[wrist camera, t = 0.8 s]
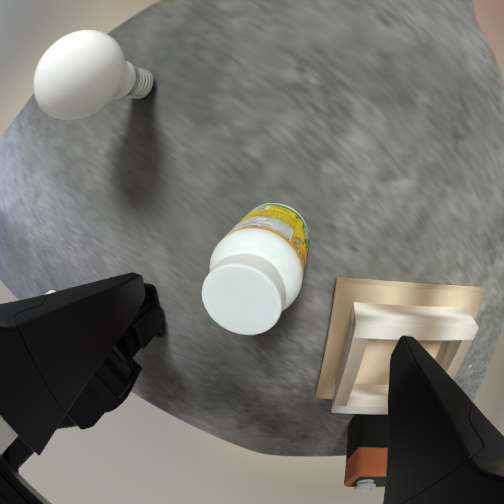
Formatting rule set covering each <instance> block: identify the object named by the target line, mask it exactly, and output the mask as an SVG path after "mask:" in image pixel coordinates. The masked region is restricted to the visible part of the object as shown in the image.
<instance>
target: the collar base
mask: <svg viewBox="0 0 504 504" xmlns="http://www.w3.org/2000/svg"><path fill="white" fill-rule="evenodd" d="M484 293H485V292H484V291H483V289H482V288H481V287H474V286H457V285H441V284H425V283H411V282H397V281H383V280H370V279H358V278H345V277H336V283H335V291H334V298H333V305H332V311H331V317H330V324H329V329H328V335H327V341H326V346H325V352H324V357H323V362H322V367H321V372H320V376H319V381H318V386H317V390H316V397H315V398H323V399H332V410H331V413H348V414H388V388H389V373H390V358H391V354H392V352H393V350H394V348H395V346H396V344H397V342H398V340H399V338H400V337H401V336H403V335H406V336H412V337H414V338H415V339H416V340H417V341H418V342H419V343H420V344H421V345H422V346H423V348H424V349H425V350H426V351H427V352H428V353H429V354H430V355H431V356H432V357H433V358H434V359H435V360H436V361H437V362H438V364H439V365H440V366H441V367H442V368H443V369H444V370H445V371H446V372H447V373H448V375H449V376H450V377H451V378H452V379H453V378H454V376H455V374H456V372H457V371H458V369H459V367H460V365H461V363H462V361H463V359H464V357H465V356H466V354H467V352H468V350H469V347H470V345H471V343H472V341H473V339H474V337H475V335H476V332H477V330H478V326H477V324H476V323H475V321H474V320H475V317H476V315H477V312H478V310H479V307H480V304H481V302H482V299H483V296H484Z"/></svg>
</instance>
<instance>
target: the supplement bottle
mask: <svg viewBox="0 0 504 504" xmlns="http://www.w3.org/2000/svg"><path fill="white" fill-rule="evenodd" d="M308 249H309V232H308V229H307V226H306V223H305V221H304V219H303V218H302V216H301V215H300V214H299V213H298V212H297V211H295V210H294V209H293V208H291V207H289V206H286V205H283V204H279V203H268V204H263V205H260V206H258V207H256V208H254V209H253V210H252V211H250V212H249V213H248V214H247V215H246V216H245V217H244V218H243V219H242V220H241V221H240V222H239V223H238V224H237V225H236V226H235V227H234V228H233V229H232V230H231V231H230V232H229V233H228V234H227V235H226V236H225V237H224V238H223V239H222V240H221V241H220V242H219V243H218V245H217V246H216V248H215V250H214V251H213V254H212V256H211V260H210V273H209V274H208V276H207V277H206V279H205V281H204V283H203V287H202V299H203V303H204V306H205V308H206V310H207V312H208V313H209V315H210V316H211V317H212V319H213V320H215V322H217V323H218V324H219V325H220V326H222V327H223V328H225V329H227V330H229V331H231V332H234V333H238V334H243V335H256V334H260V333H263V332H265V331H267V330H269V329H270V328H271V327H273V326H274V325H275V324H276V322H277V321H278V319H279V317H280V315H281V312H282V311H283V310H284V309H286V308H287V307H289V306H290V305H291V304H292V303H293V301H294V300H295V299H296V297H297V295H298V294H299V291H300V289H301V285H302V281H303V276H304V270H305V265H306V259H307V254H308Z"/></svg>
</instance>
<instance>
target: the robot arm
mask: <svg viewBox="0 0 504 504" xmlns="http://www.w3.org/2000/svg"><path fill="white" fill-rule="evenodd" d="M150 289H151V290H150ZM164 335H165V331H164V327H163V322H162V317H161V313H160V308H159V304H158V299H157V294H156V289H155V287H154V286H153V285H151V284H146V283H144V281H143V277H142V276H141V275H140V274H136V273H128V274H124V275H120V276H116V277H110V278H108V279H104V280H100V281H96V282H92V283H88V284H84V285H80V286H76V287H72V288H68V289H65V290H61V291H57V292H53V293H50V294H45V295H41V296H37V297H33V298H29V299H24V300H19V301H14V302H9V303H4V304H0V504H51V503H50V502H49V501H47V500H46V499H45V498H44V497H43V496H42V495H41V494H39V493H38V492H37V491H36V490H35V489H34V488H33V487H32V486H30V484H29V483H28V482H27V481H25V479H24V478H23V477H22V476H21V475H20V474H19V473H18V468H19V467H20V466H21V465H22V464H23V463H24V462H25V461H26V460H27V459H28V458H29V457H30V456H31V455H32V454H33V453H34V452H36V453H37V454H38V455H40V454H41V453H42V451H43V449H44V448H45V446H46V445H47V443H48V442H49V440H50V438H51V437H52V435H53V434H54V432H55V431H56V430H57V429H60V428H68V427H74V426H78V427H79V428H80V429H86V428H90V427H92V426H94V425H95V424H96V422H97V421H98V420H99V419H100V418H101V416H102V415H103V414H104V413H105V412H110V411H112V410H114V409H116V408H117V407H118V406H119V405H120V404H122V403H123V402H124V400H125V399H126V398H127V397H128V395H129V393H130V391H131V389H132V387H133V385H134V383H135V381H136V379H137V377H138V375H139V373H140V371H141V369H142V367H141V366H140V365H139V364H137V363H136V362H135V361H134V359H133V357H134V356H135V354H136V353H137V352H138V351H139V350H140V349H141V348H142V349H144V348H145V347H146V346H147V344H148V343H149V342H150V341H151V340H152V338H153V337H154V336H156V337H160V338H162V337H163V336H164ZM383 504H504V436H503V435H502V434H501V433H500V432H499V431H498V430H497V429H496V428H495V427H494V426H493V425H492V424H491V422H490V421H489V420H488V419H487V418H486V417H485V416H484V415H483V414H482V413H481V411H480V410H479V409H478V408H477V407H476V405H475V404H474V403H473V402H471V400H470V398H469V397H468V396H467V395H466V394H465V393H464V391H463V390H462V389H461V388H460V387H459V386H458V385H457V384H456V382H455V381H454V380H453V379H452V378H451V377H450V376H449V375H448V373H447V372H446V371H445V370H444V369H443V368H442V367H441V366H440V365H439V364H438V362H437V361H436V360H435V359H434V358H433V357H432V356H431V355H430V354H429V353H428V352H427V351H426V350H425V349H424V348H423V346H422V345H421V344H420V343H419V342H418V341H417V340H416V339H415V338H414V337H412V336H406V335H403V336H401V337H400V338H399V340H398V342H397V344H396V346H395V348H394V350H393V352H392V354H391V358H390V373H389V388H388V450H387V469H386V482H385V493H384V502H383Z"/></svg>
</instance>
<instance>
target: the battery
mask: <svg viewBox="0 0 504 504" xmlns="http://www.w3.org/2000/svg"><path fill="white" fill-rule="evenodd" d="M387 450H388V414H356V415H355V417H354V418H353V420H352V421H351V423H350V425H349V426H348V442H347V457H346V458H347V459H346V471H345V480H344V485H345V486H347V487H355V490H357V491H368V490H372V489H373V488H375V487H385V482H386V469H387Z"/></svg>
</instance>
